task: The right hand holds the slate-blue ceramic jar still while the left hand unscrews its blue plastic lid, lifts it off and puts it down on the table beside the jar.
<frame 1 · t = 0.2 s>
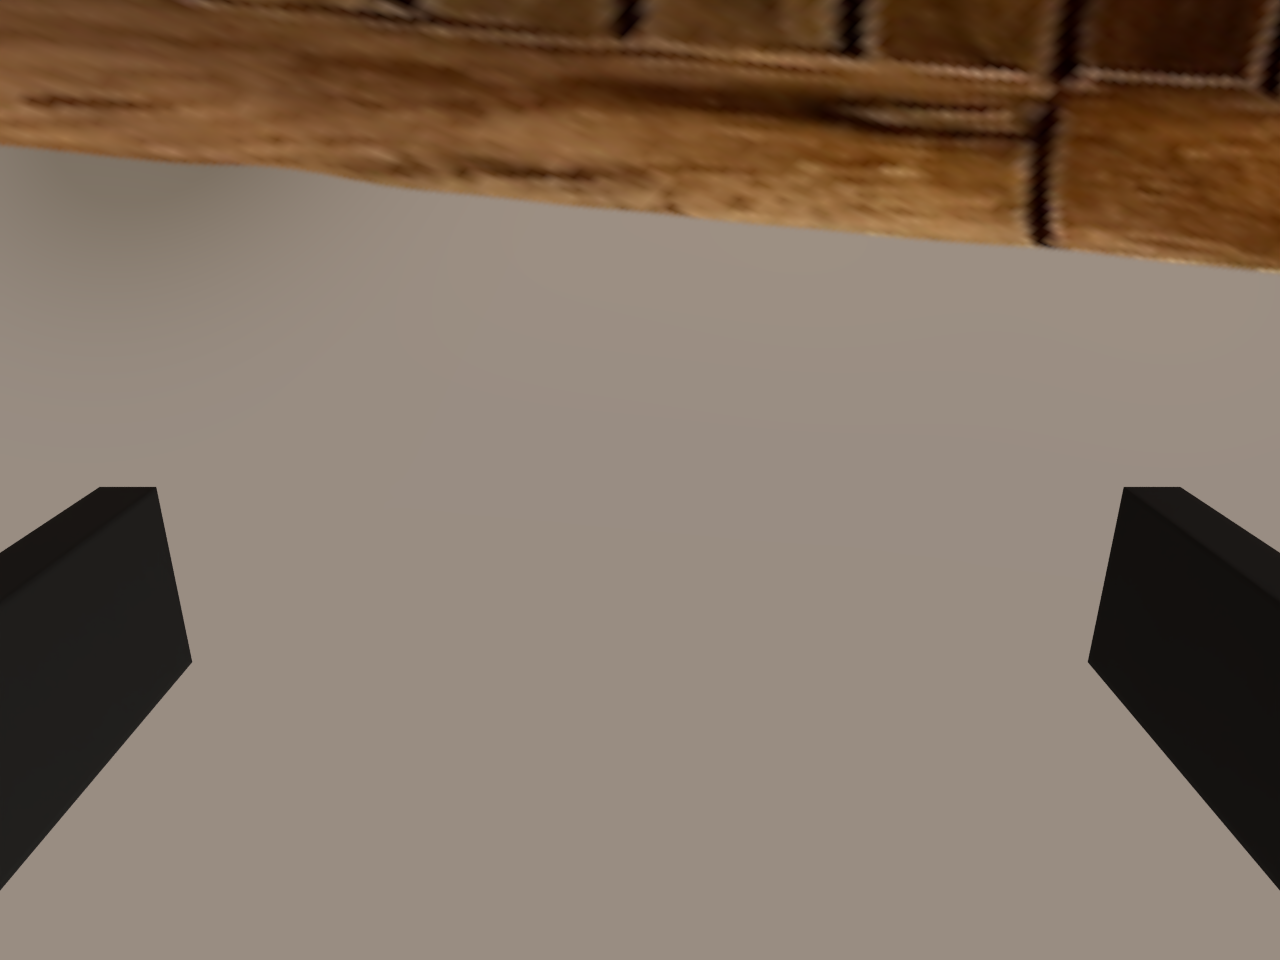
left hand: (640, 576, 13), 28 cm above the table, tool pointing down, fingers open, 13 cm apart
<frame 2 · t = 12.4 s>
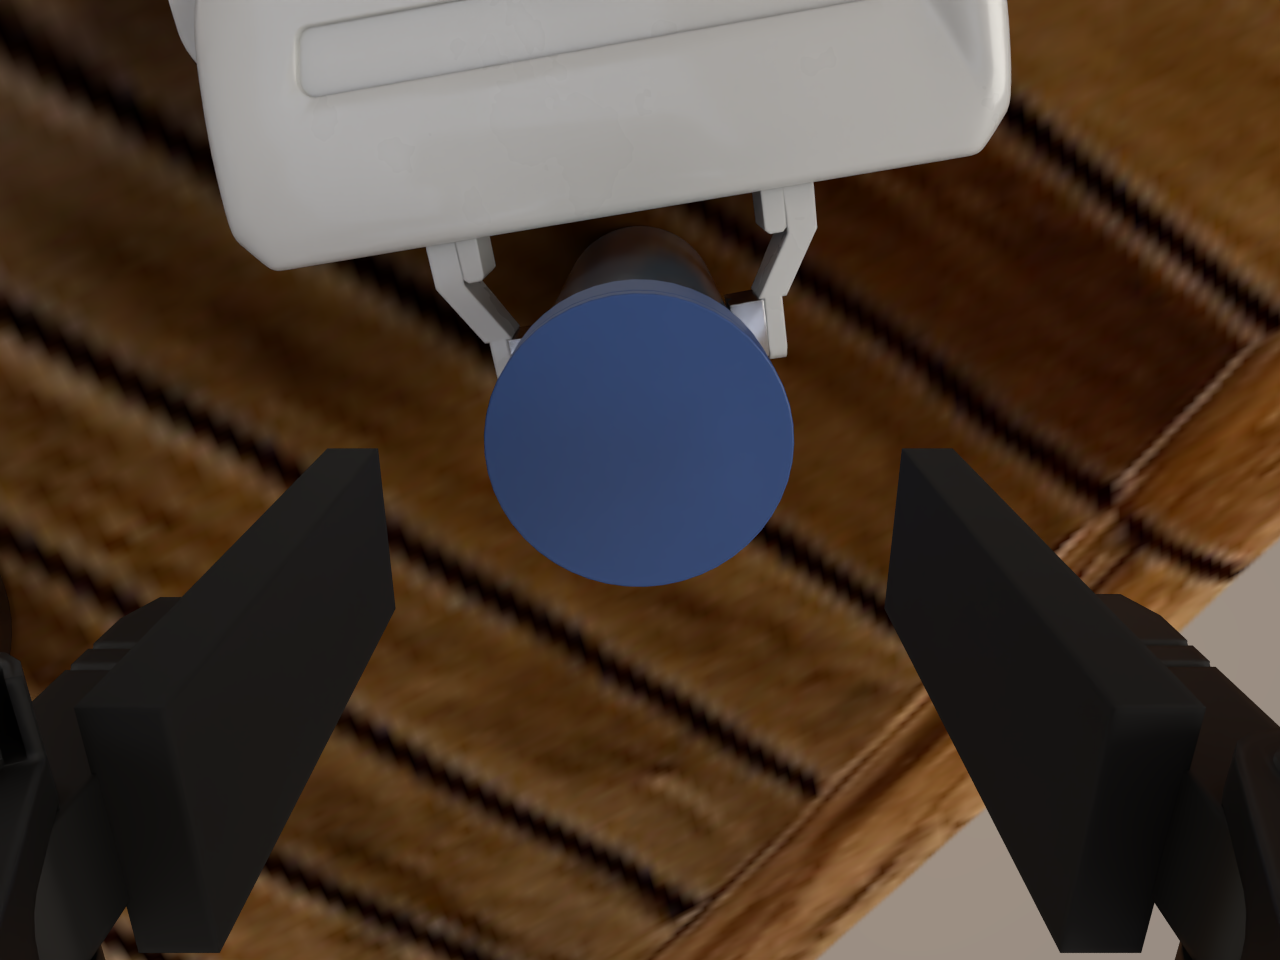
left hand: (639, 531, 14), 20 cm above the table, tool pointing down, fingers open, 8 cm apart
right hand: (646, 374, 27), fingers closed on jar, 5 cm apart
lid: (639, 443, 18), point 15 cm above the table, screwed on, not yet turned
jar: (639, 303, 32), on the table, touching right hand
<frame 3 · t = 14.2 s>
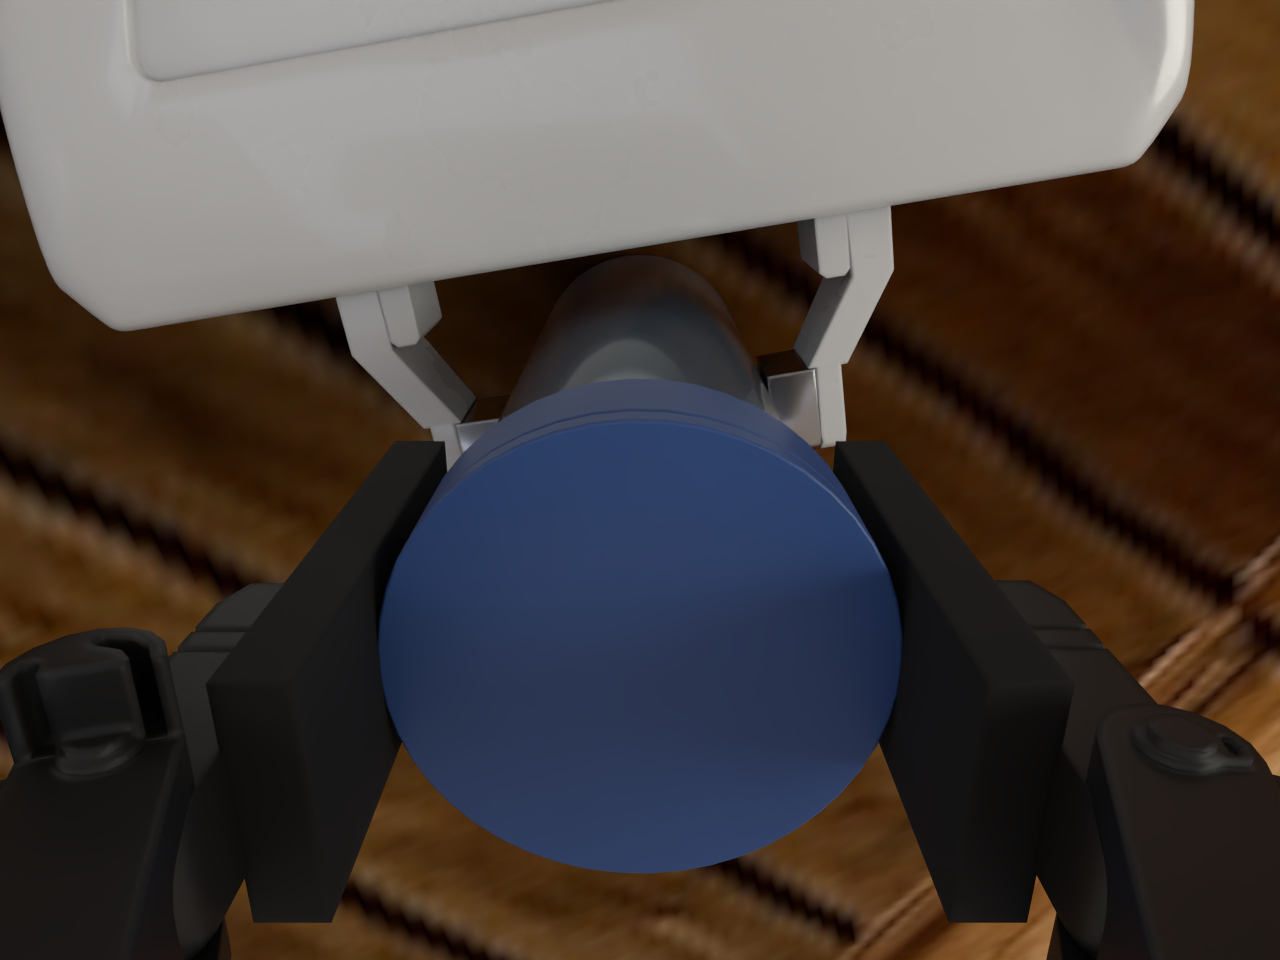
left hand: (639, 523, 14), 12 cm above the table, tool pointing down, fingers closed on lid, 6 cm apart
right hand: (649, 465, 19), fingers closed on jar, 5 cm apart
lid: (640, 654, 11), point 15 cm above the table, screwed on, not yet turned, touching left hand
jar: (640, 353, 25), on the table, touching right hand
when the left hand's fingers open (0 cm above the table, at t = 23.2 s): lid drops 2 cm, point 1 cm above the table.
when the right hand's fingers open (7 cm above the table, at t = 23.9 s): jar stays where it is, on the table.
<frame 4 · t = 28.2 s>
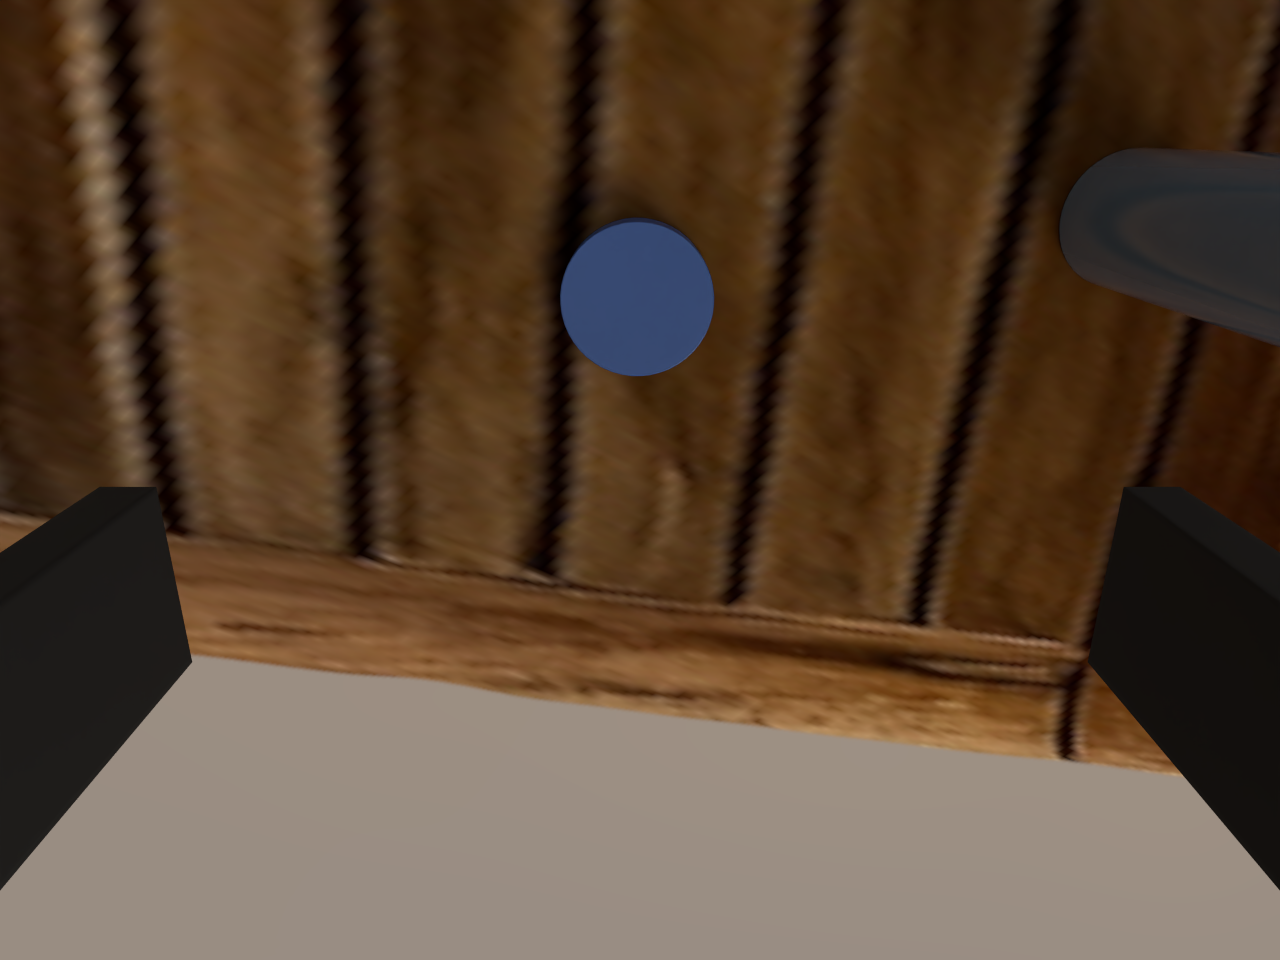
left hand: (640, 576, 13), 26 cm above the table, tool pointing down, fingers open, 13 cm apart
lid: (637, 299, 36), point 1 cm above the table, off its thread
jar: (1127, 219, 36), on the table
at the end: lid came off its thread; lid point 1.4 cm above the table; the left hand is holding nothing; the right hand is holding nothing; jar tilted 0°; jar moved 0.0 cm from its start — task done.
